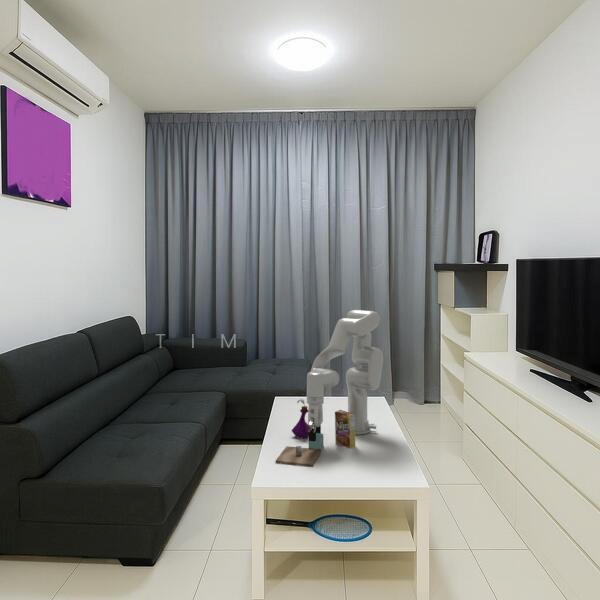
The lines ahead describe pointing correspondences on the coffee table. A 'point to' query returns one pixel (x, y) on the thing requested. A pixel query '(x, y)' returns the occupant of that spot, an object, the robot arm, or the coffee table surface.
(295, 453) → the plate
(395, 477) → the coffee table surface
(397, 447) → the coffee table surface
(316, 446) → the teal cube
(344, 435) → the candy box
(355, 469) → the coffee table surface
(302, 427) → the perfume bottle
